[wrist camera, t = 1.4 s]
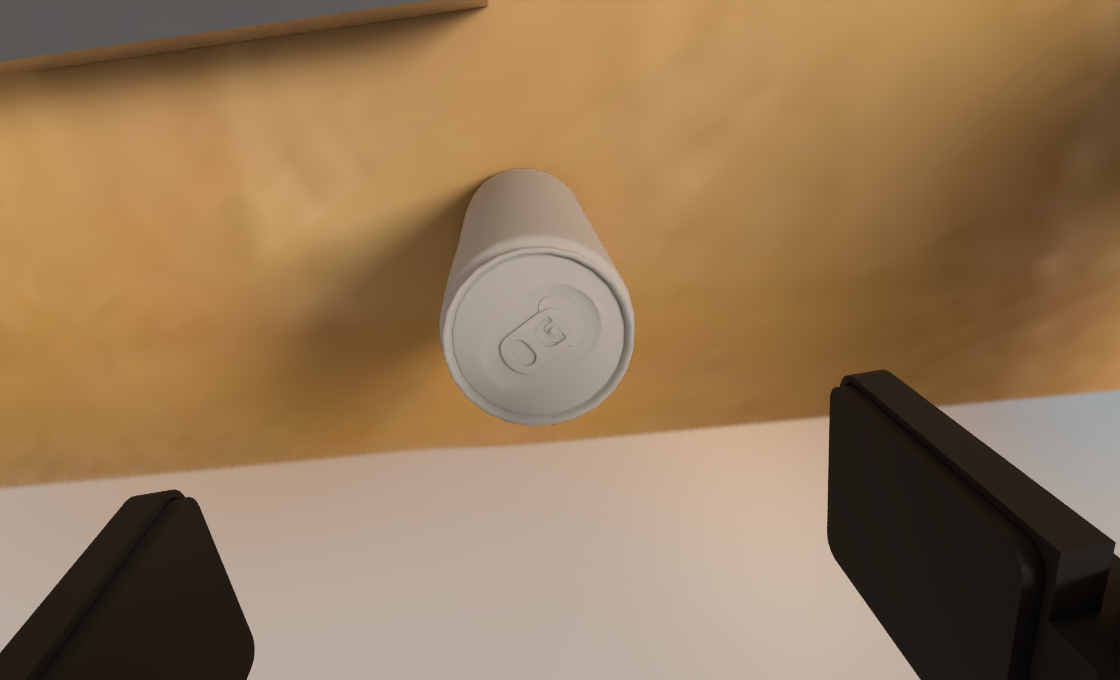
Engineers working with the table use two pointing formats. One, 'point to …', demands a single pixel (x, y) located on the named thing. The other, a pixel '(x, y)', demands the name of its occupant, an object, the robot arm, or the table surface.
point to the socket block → (175, 25)
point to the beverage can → (534, 304)
